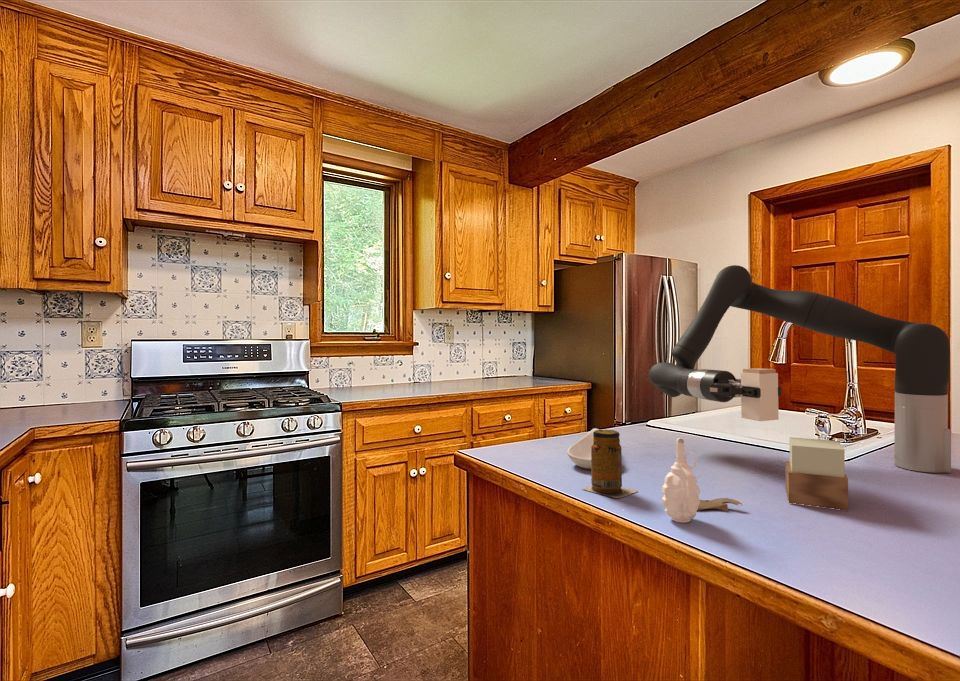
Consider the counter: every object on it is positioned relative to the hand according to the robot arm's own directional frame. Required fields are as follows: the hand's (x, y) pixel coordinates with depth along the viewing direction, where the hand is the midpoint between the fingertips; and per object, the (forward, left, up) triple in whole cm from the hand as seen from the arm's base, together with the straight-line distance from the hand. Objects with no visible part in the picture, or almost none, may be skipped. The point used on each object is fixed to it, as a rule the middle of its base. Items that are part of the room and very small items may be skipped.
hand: (769, 392), depth 108 cm
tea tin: (+2, -2, -6) cm, 7 cm away
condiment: (+29, +21, -19) cm, 41 cm away
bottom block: (-7, +10, -19) cm, 23 cm away
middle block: (-7, +10, -13) cm, 18 cm away
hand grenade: (+14, +32, -19) cm, 40 cm away
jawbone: (+13, +16, -20) cm, 29 cm away
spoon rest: (+38, -2, -20) cm, 43 cm away
